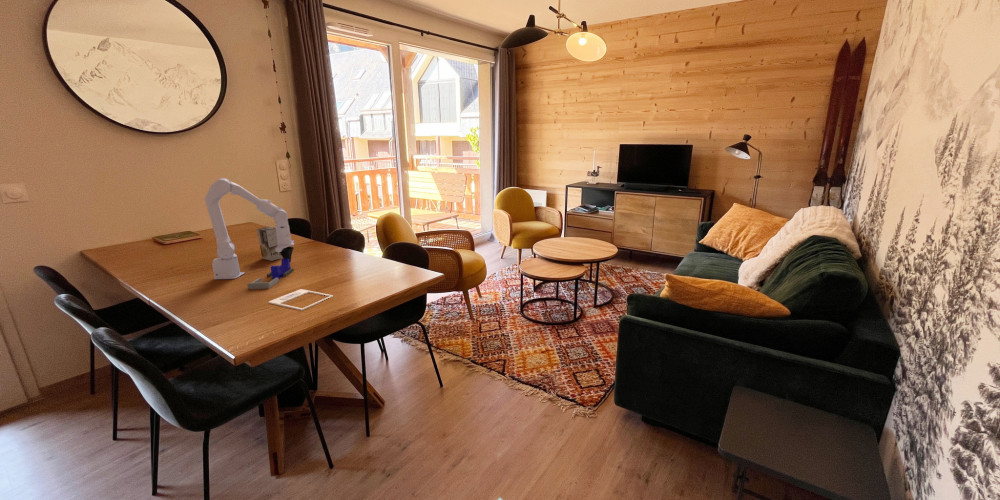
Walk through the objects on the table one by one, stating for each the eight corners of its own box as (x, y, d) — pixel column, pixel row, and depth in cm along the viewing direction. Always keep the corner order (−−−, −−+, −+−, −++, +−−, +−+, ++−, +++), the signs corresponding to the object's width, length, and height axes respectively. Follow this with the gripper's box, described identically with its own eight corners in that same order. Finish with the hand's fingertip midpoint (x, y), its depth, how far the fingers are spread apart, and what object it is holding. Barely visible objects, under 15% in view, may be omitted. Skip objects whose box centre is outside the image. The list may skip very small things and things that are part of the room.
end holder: (248, 289, 167) (247, 283, 166) (259, 281, 175) (258, 276, 175) (268, 288, 167) (267, 283, 167) (278, 281, 176) (278, 276, 175)
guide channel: (266, 276, 182) (266, 274, 181) (275, 271, 189) (275, 268, 189) (285, 276, 182) (285, 273, 182) (293, 270, 190) (293, 268, 189)
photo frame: (300, 288, 165) (333, 294, 158) (301, 291, 166) (333, 297, 158) (268, 301, 152) (301, 308, 145) (268, 303, 153) (302, 311, 146)
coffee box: (283, 258, 211) (278, 228, 206) (271, 261, 205) (265, 230, 201) (273, 255, 215) (268, 226, 211) (261, 258, 210) (256, 228, 206)
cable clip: (281, 271, 190) (279, 258, 189) (291, 270, 191) (289, 258, 189) (269, 279, 179) (266, 266, 177) (279, 279, 179) (277, 266, 178)
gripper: (285, 238, 183) (289, 266, 186) (298, 231, 197) (302, 257, 200) (269, 238, 182) (274, 267, 186) (284, 231, 196) (288, 258, 200)
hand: (287, 262), depth 193 cm, fingers closed
